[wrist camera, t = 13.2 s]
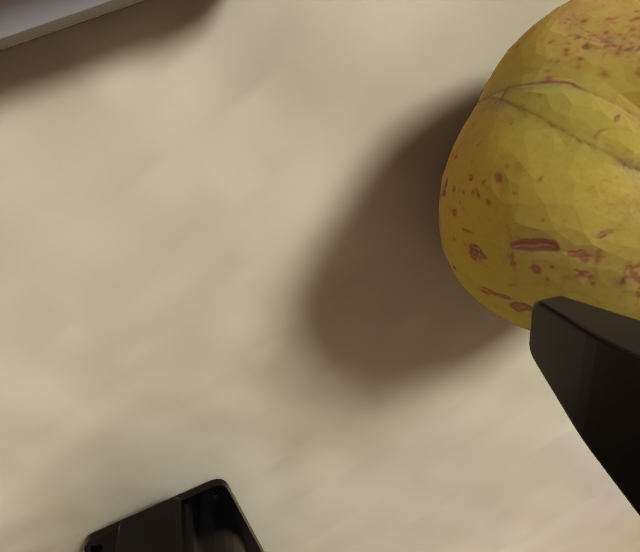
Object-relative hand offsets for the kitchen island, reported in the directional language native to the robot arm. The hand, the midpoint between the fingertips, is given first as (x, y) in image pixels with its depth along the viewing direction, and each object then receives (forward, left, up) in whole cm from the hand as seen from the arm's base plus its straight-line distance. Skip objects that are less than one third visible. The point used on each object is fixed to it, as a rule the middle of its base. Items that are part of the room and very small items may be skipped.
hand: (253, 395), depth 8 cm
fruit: (-3, -13, -14) cm, 19 cm away
